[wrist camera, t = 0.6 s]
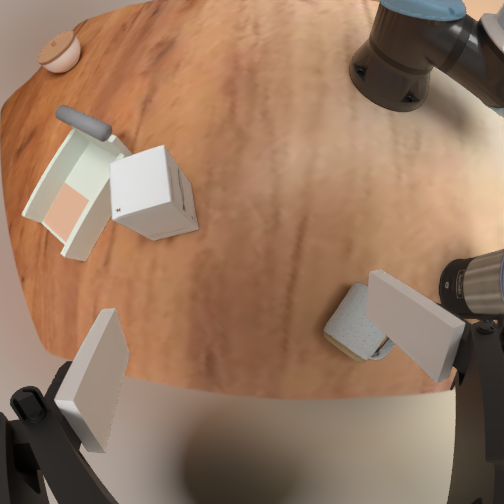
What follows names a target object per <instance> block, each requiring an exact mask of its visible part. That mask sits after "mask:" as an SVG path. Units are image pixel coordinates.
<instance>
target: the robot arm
mask: <svg viewBox="0 0 504 504" xmlns="http://www.w3.org/2000/svg"><path fill="white" fill-rule="evenodd" d="M433 67H436V68H438V69H439V70H441V71H442V72H444V73H445V74H446V75H448V76H449V77H451V78H452V79H454V80H455V81H456V82H458V83H459V84H460V85H462V86H463V87H465V88H466V89H467V90H468V91H470V92H471V93H472V94H474V95H475V96H476V97H477V98H479V99H480V100H481V101H482V102H483V104H485V105H486V106H488V107H489V108H491V109H492V110H494V111H495V112H496V113H497V114H499V115H500V116H502V117H504V4H503V5H502V7H501V9H500V10H499V12H498V13H497V14H489V13H486V14H483V16H482V17H481V18H480V20H479V21H478V22H477V21H476V20H475V19H473V18H471V17H470V16H468V15H467V14H466V7H465V5H464V3H463V2H462V0H380V4H379V7H378V11H377V14H376V17H375V21H374V24H373V27H372V30H371V33H370V37H369V39H368V40H367V41H366V42H365V43H364V44H363V45H362V46H361V47H360V48H359V49H358V50H357V51H356V53H355V54H354V56H353V58H352V61H351V64H350V76H351V79H352V81H353V83H354V84H355V86H356V87H357V88H358V89H359V91H360V92H361V93H362V94H363V95H365V96H366V97H367V98H368V99H370V100H371V101H373V102H374V103H376V104H378V105H380V106H382V107H384V108H387V109H390V110H394V111H401V112H407V111H412V110H415V109H417V108H418V107H419V106H420V105H421V104H422V103H423V101H424V100H425V98H426V96H427V93H428V87H429V80H430V72H431V70H432V68H433ZM366 317H367V318H368V319H369V320H370V321H371V322H372V323H374V324H375V325H376V326H377V327H378V328H379V329H380V330H381V331H382V332H383V333H384V334H385V335H386V336H388V337H389V338H390V339H391V340H392V341H393V342H394V343H395V344H396V345H397V346H398V347H399V348H400V349H401V350H402V351H404V352H405V353H406V354H407V355H408V356H409V357H410V358H411V359H412V360H413V361H414V362H415V363H416V364H417V365H418V366H419V367H420V368H421V369H422V370H423V371H424V372H426V373H427V374H428V375H429V376H430V377H431V378H432V379H433V380H434V381H435V382H436V383H438V382H440V381H442V380H444V379H446V378H448V377H449V375H450V372H451V369H452V366H454V367H455V368H456V369H457V372H456V375H455V377H454V380H453V383H452V385H451V388H450V390H453V387H454V386H455V387H456V426H455V447H454V458H453V469H452V476H451V484H450V490H449V496H448V501H447V504H504V324H503V327H502V328H498V329H495V328H494V327H493V326H492V325H490V324H487V323H483V322H477V323H474V324H473V325H472V324H470V323H469V322H467V321H466V320H464V319H463V318H461V317H460V316H458V315H457V314H455V313H453V312H452V311H450V310H448V309H447V308H446V307H444V306H443V305H441V304H439V303H436V302H433V301H431V300H429V299H428V298H426V297H425V296H423V295H422V294H420V293H418V292H417V291H415V290H414V289H412V288H410V287H409V286H407V285H406V284H404V283H402V282H401V281H399V280H397V279H396V278H394V277H393V276H391V275H389V274H388V273H386V272H384V271H383V270H381V269H379V270H374V271H369V282H368V296H367V307H366ZM129 356H130V353H129V350H128V347H127V344H126V341H125V337H124V334H123V331H122V328H121V324H120V321H119V318H118V314H117V311H116V308H110V309H102V310H101V312H100V313H99V315H98V317H97V319H96V320H95V322H94V324H93V326H92V327H91V329H90V331H89V333H88V334H87V336H86V338H85V340H84V342H83V343H82V345H81V347H80V349H79V351H78V353H77V355H76V356H75V358H74V360H73V361H67V362H66V363H65V364H64V365H62V366H61V367H60V368H59V370H58V371H57V374H56V375H55V378H54V379H53V381H52V384H51V385H50V387H49V388H48V391H47V393H46V394H45V396H44V397H43V395H42V393H41V391H40V390H39V389H38V388H37V387H34V386H27V387H23V388H21V389H19V390H18V391H16V392H15V393H14V394H13V395H12V397H11V399H10V405H11V407H12V409H13V410H14V412H15V413H16V414H17V416H18V417H19V420H12V421H8V419H7V418H6V416H5V415H4V414H3V413H2V412H0V504H49V500H48V496H47V493H46V487H45V483H44V478H43V475H44V477H45V479H46V481H47V483H48V485H49V487H50V489H51V491H52V493H53V494H54V496H55V498H56V500H57V502H58V504H119V503H118V502H117V501H116V500H115V499H114V497H113V496H112V495H111V494H110V493H109V491H108V490H107V489H106V487H105V486H104V485H103V484H102V482H101V481H100V479H99V478H98V477H97V475H96V474H95V473H94V471H93V470H92V468H91V467H90V465H89V464H88V463H87V461H86V460H85V458H84V457H83V455H82V454H81V452H80V451H79V449H80V445H81V443H82V444H83V446H84V447H85V448H86V450H87V451H88V452H97V453H106V449H107V444H108V440H109V435H110V430H111V426H112V421H113V417H114V413H115V408H116V404H117V401H118V396H119V393H120V389H121V385H122V381H123V377H124V374H125V370H126V366H127V363H128V359H129Z"/></svg>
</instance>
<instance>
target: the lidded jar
mask: <svg viewBox="0 0 504 504" xmlns="http://www.w3.org/2000/svg"><path fill="white" fill-rule="evenodd" d="M80 52H81V46H80V43H79V40H78V39H77V37H76V36H75V33H74V32H73V31H65V32H63V33H61V34H59V35H57V36H56V37H54V38H53V39H52V40H51V41H50V42H49V43H47V45H46V46H45V47H44V48H43V49H42V51H41V52H40V54H39V56H38V62H39V63H40V64H41V65H42V66H43V67H44V68H45V69H47V70H48V71H50V72H53V73H60V72H62V73H63V72H66V71H68V70H70V69H71V68H72V67H74V66H75V64H76V63H77V62H78V60H79V56H80Z"/></svg>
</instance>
